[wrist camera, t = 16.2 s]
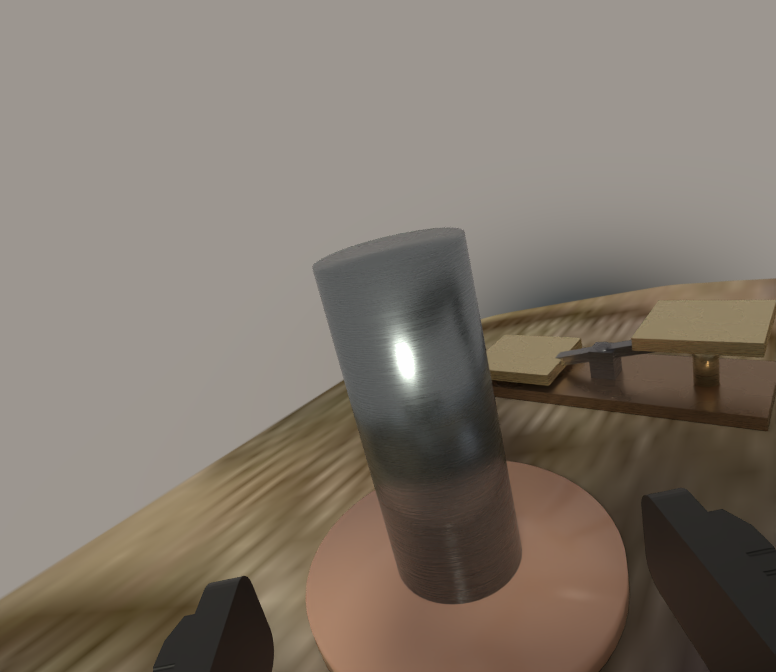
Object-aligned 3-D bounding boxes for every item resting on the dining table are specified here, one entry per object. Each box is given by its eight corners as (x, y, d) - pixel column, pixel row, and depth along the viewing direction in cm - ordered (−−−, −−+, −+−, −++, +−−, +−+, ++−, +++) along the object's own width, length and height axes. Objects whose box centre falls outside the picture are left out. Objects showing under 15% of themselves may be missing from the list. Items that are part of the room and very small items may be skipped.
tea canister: (453, 496, 27) (393, 230, 23) (547, 540, 23) (497, 224, 19) (372, 564, 24) (284, 270, 20) (464, 629, 20) (378, 273, 15)
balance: (466, 392, 40) (454, 333, 39) (508, 354, 45) (498, 300, 44) (767, 431, 28) (767, 345, 27) (780, 373, 33) (781, 298, 31)
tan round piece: (562, 456, 30) (559, 438, 30) (706, 690, 17) (705, 663, 17) (326, 506, 31) (321, 489, 31) (291, 767, 18) (280, 743, 17)
